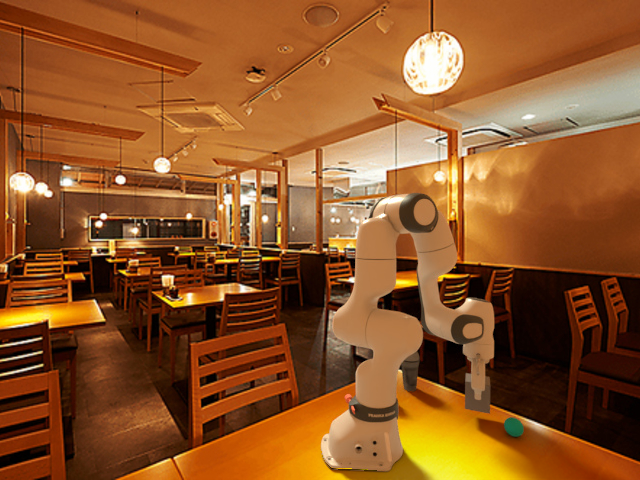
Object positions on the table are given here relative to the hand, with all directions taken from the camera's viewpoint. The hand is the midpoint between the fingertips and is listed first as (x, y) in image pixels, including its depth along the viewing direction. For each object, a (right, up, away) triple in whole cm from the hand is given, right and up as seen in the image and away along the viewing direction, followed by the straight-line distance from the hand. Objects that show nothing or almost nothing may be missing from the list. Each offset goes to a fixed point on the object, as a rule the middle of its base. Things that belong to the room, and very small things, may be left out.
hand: (477, 393), depth 109 cm
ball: (+7, -6, -8) cm, 12 cm away
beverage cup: (-16, -8, +21) cm, 28 cm away
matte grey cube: (0, -4, 0) cm, 4 cm away
